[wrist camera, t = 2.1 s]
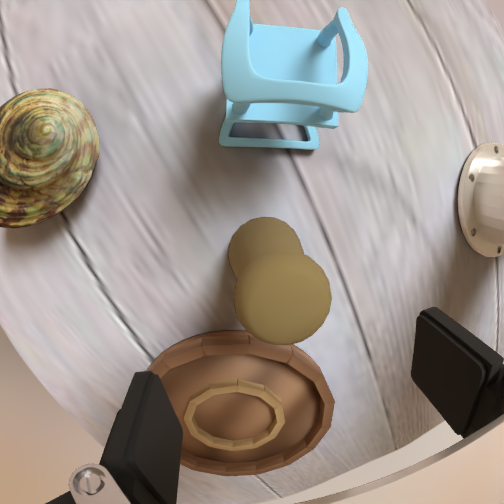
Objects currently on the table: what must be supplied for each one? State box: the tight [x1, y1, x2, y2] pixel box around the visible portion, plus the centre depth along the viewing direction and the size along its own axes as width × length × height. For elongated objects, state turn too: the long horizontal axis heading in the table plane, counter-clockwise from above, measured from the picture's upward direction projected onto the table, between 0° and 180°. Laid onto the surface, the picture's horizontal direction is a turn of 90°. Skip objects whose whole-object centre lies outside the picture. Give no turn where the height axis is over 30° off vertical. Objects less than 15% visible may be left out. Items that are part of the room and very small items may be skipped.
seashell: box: [0, 89, 99, 228], centre depth 17 cm, size 11×11×10 cm
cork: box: [228, 217, 332, 345], centre depth 20 cm, size 6×6×11 cm
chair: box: [219, 0, 368, 150], centre depth 16 cm, size 8×8×12 cm
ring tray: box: [147, 330, 335, 476], centre depth 28 cm, size 20×20×2 cm
